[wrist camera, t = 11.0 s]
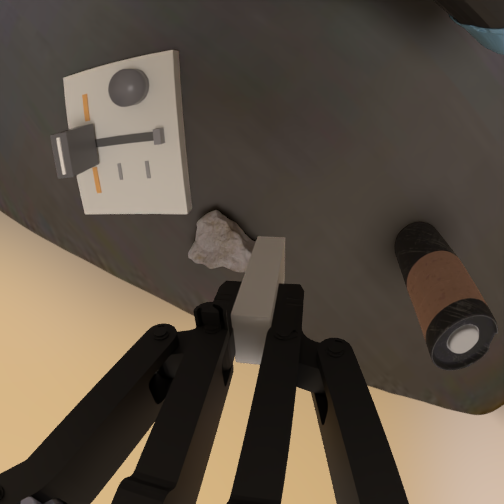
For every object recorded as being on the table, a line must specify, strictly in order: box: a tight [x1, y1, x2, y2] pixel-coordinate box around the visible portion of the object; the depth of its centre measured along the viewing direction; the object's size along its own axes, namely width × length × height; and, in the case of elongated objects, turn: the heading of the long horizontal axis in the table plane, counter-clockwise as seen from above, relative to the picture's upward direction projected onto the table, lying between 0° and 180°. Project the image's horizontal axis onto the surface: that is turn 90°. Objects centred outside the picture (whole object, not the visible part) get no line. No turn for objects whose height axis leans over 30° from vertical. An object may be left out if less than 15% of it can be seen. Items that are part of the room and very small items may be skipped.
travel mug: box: [395, 222, 498, 370], centre depth 33 cm, size 8×8×20 cm
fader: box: [50, 124, 99, 179], centre depth 37 cm, size 6×3×6 cm, turn 2°
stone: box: [188, 210, 256, 272], centre depth 43 cm, size 8×10×6 cm
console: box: [63, 50, 192, 214], centre depth 39 cm, size 22×18×4 cm
